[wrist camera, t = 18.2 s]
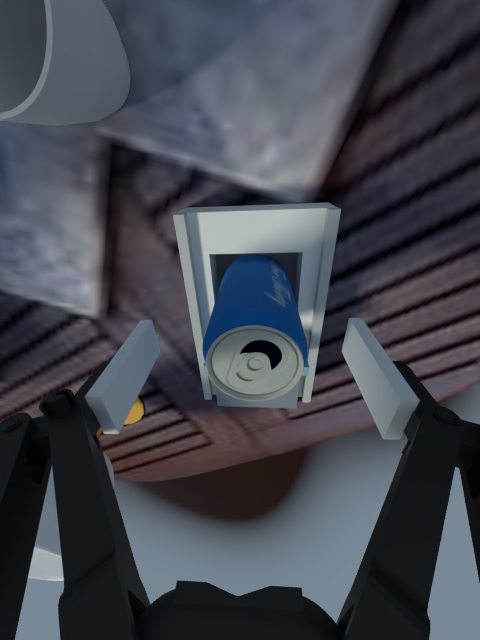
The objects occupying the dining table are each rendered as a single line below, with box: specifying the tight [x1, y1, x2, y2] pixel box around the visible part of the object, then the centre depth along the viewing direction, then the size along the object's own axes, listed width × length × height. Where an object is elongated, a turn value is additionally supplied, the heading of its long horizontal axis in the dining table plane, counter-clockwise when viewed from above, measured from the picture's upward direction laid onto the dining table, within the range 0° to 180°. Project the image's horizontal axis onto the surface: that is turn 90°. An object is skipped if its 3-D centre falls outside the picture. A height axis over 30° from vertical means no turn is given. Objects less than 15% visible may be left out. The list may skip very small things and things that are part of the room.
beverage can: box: [202, 254, 308, 401], centre depth 19 cm, size 6×6×12 cm
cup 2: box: [28, 397, 144, 581], centre depth 29 cm, size 12×12×17 cm
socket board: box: [173, 202, 341, 402], centre depth 24 cm, size 12×20×4 cm, turn 2°
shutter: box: [204, 359, 309, 408], centre depth 25 cm, size 9×9×4 cm
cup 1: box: [0, 0, 131, 126], centre depth 13 cm, size 8×8×10 cm
